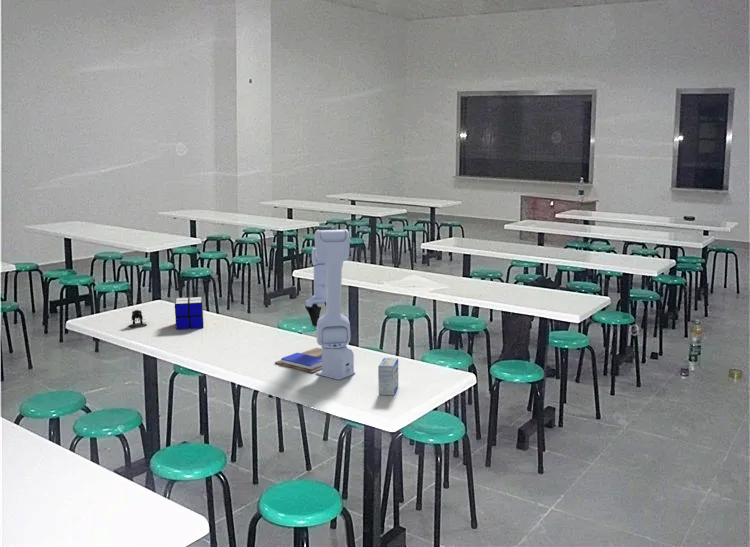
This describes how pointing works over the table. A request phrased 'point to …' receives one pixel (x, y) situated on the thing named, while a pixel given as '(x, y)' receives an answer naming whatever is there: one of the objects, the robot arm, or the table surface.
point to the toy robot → (136, 315)
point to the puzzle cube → (189, 313)
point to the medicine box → (388, 376)
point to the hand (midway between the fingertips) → (323, 323)
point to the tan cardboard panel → (313, 352)
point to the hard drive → (302, 360)
